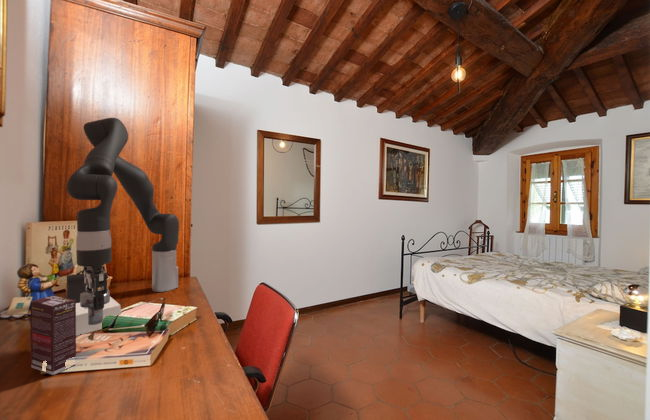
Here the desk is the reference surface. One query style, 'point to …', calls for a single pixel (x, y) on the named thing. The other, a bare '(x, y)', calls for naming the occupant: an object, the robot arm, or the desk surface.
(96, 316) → the grey mushroom knob
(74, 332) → the supplement box
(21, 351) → the desk surface
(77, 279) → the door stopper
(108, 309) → the block
